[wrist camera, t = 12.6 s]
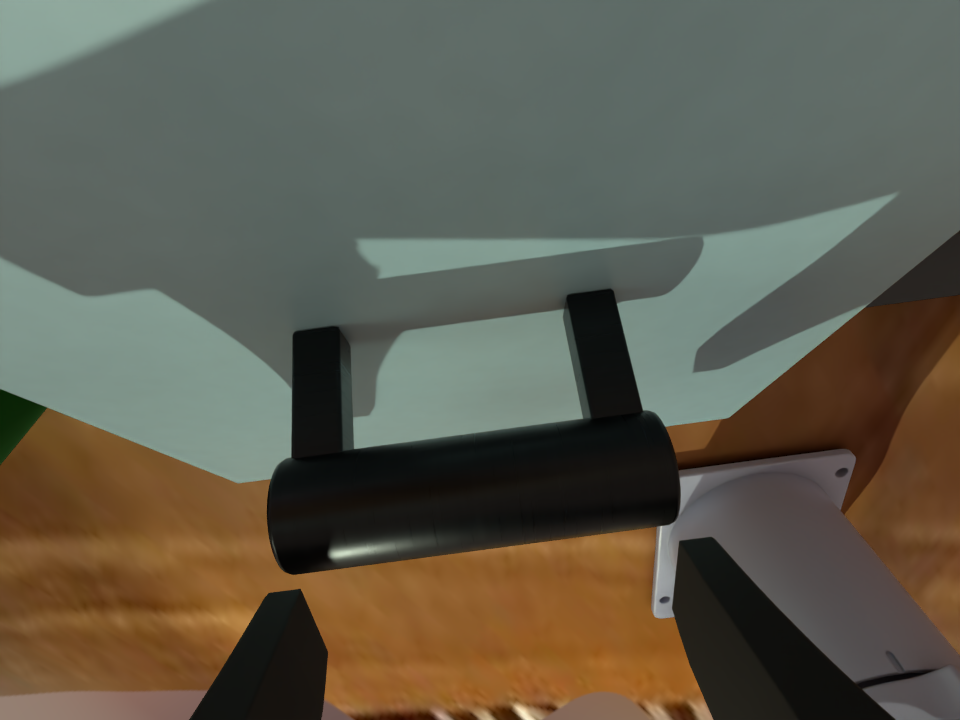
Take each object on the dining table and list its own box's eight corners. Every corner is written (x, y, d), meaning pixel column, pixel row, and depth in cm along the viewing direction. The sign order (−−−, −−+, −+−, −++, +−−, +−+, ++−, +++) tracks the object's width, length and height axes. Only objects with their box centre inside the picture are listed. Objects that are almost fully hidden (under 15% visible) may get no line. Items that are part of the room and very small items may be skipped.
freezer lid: (-741, -10, 4) (-1514, 700, 2) (1479, -316, 4) (2372, 183, 2) (238, 460, 17) (231, 607, 15) (722, 395, 16) (766, 536, 15)
